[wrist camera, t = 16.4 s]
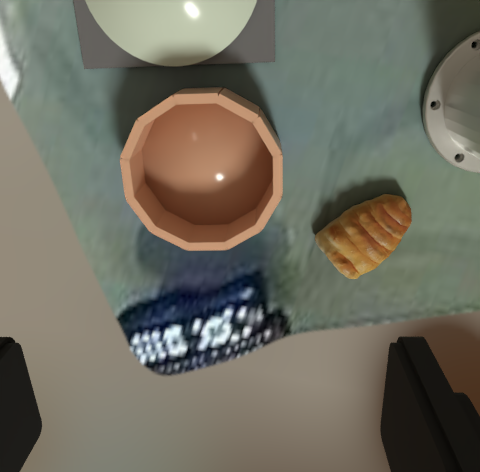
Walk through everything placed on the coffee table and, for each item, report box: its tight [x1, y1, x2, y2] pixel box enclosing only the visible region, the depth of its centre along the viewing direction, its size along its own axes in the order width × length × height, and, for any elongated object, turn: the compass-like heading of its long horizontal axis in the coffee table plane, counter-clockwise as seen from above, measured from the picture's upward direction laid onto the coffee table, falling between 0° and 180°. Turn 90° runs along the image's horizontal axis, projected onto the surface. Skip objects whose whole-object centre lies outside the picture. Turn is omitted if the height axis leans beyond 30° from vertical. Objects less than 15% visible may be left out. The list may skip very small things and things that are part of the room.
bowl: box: [120, 87, 282, 251], centre depth 42 cm, size 14×14×5 cm
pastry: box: [315, 194, 412, 279], centre depth 45 cm, size 9×7×4 cm
